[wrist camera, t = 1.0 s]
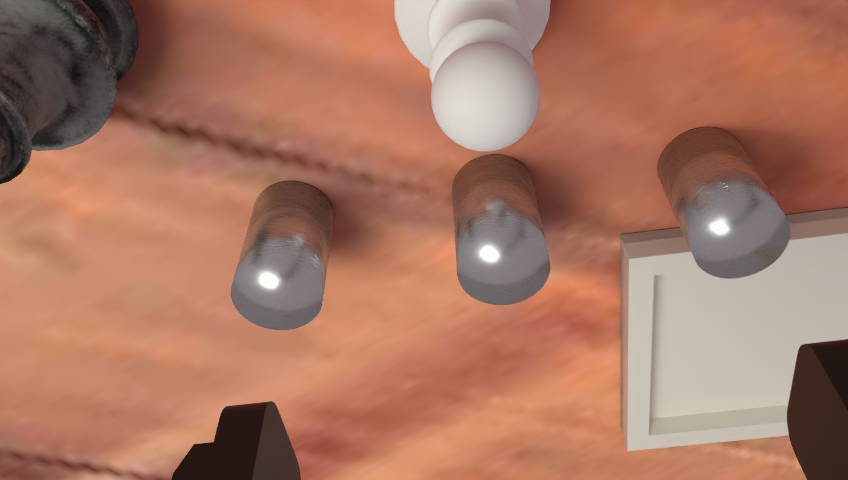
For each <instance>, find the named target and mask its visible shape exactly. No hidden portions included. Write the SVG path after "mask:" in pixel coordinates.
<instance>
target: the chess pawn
mask: <svg viewBox="0 0 848 480" xmlns="http://www.w3.org/2000/svg"><path fill="white" fill-rule="evenodd" d="M550 2H551V0H394V5H395V20H396V24H397V27H398V30H399V33H400V37H401V38H402V40H403V42H404V43H405V45H406V46H407V48H408V49H409V51H410V53H411V54H412V55H413V56H414V57H415V58H417V59H418V60H419V61H420V62H421V63H422V64H423V65H424V66H425V67H427V68H429V69H430V79H431V82H432V89H431V105H432V109H433V112H434V116H435V119H436V121H437V123H438V124H439V126H440V127H441V129H442V130H443V132H444V133H445V134H446V135H447V136H448V137H449V138H450V139H452V140H453V141H454V142H455V143H457V144H459V145H461V146H463V147H465V148H467V149H471V150H476V151H494V150H499V149H503V148H505V147H507V146H509V145H511V144H513V143H515V142H516V141H517V140H519V139H520V138H521V137H522V136H524V135H525V134H526V132H527V131H528V130H529V128H530V127H531V126H532V124H533V123H534V120H535V118H536V115H537V112H538V110H539V104H540V87H539V82H538V77H537V75H536V73H535V71H534V69H533V63H534V62H533V57H532V50H533V49H534V47H535V46H536V44H537V43H538V42H539V40H540V39H541V37H542V35H543V33H544V30H545V27H546V24H547V22H548V19H549V13H550Z"/></svg>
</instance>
